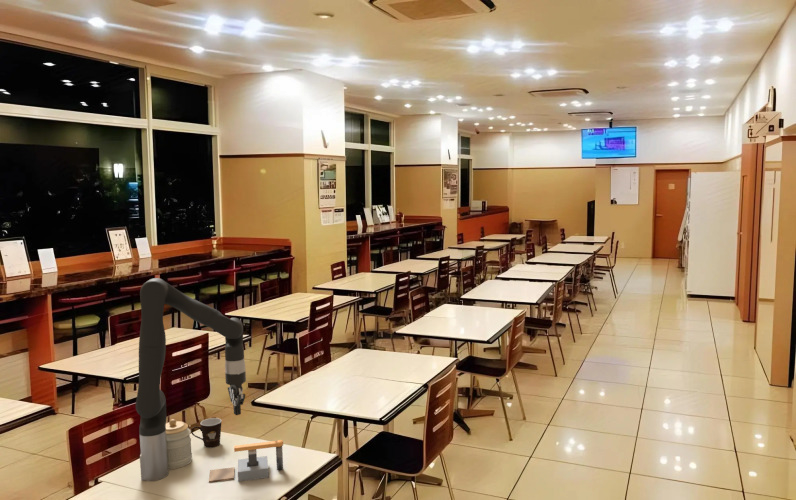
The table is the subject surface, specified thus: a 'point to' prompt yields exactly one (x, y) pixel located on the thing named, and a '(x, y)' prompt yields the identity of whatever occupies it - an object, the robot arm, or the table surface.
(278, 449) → the post
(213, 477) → the pad
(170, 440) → the jar
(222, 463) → the table surface
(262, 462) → the socket block
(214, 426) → the coffee mug
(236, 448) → the orange flat bar
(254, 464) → the plug
